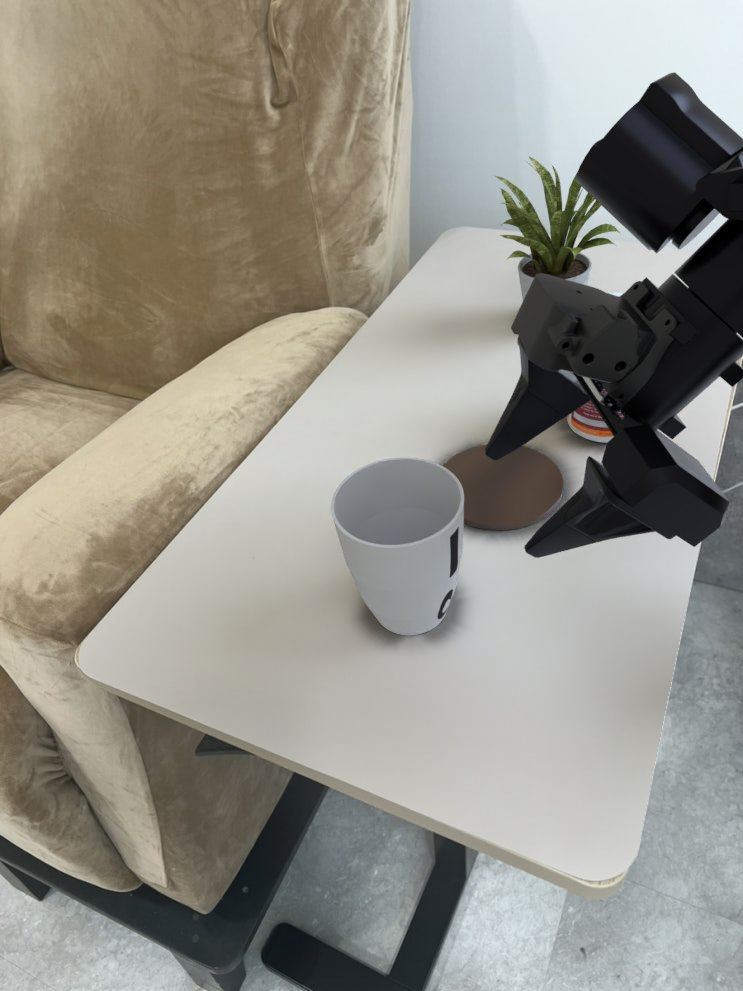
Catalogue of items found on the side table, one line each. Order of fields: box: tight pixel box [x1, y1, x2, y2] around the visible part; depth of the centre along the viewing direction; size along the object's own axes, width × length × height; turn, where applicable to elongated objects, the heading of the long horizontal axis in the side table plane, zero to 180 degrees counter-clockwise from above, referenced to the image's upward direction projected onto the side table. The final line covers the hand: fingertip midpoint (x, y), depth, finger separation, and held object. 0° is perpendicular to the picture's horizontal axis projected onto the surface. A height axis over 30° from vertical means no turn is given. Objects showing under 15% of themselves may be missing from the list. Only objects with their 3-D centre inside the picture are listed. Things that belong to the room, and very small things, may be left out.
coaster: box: [442, 443, 564, 531], centre depth 61 cm, size 10×10×1 cm
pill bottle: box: [566, 292, 625, 444], centre depth 62 cm, size 6×6×11 cm
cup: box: [330, 456, 465, 636], centre depth 50 cm, size 8×8×10 cm
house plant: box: [494, 156, 621, 301], centre depth 74 cm, size 14×14×16 cm
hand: (508, 501), depth 48 cm, fingers open, 9 cm apart
